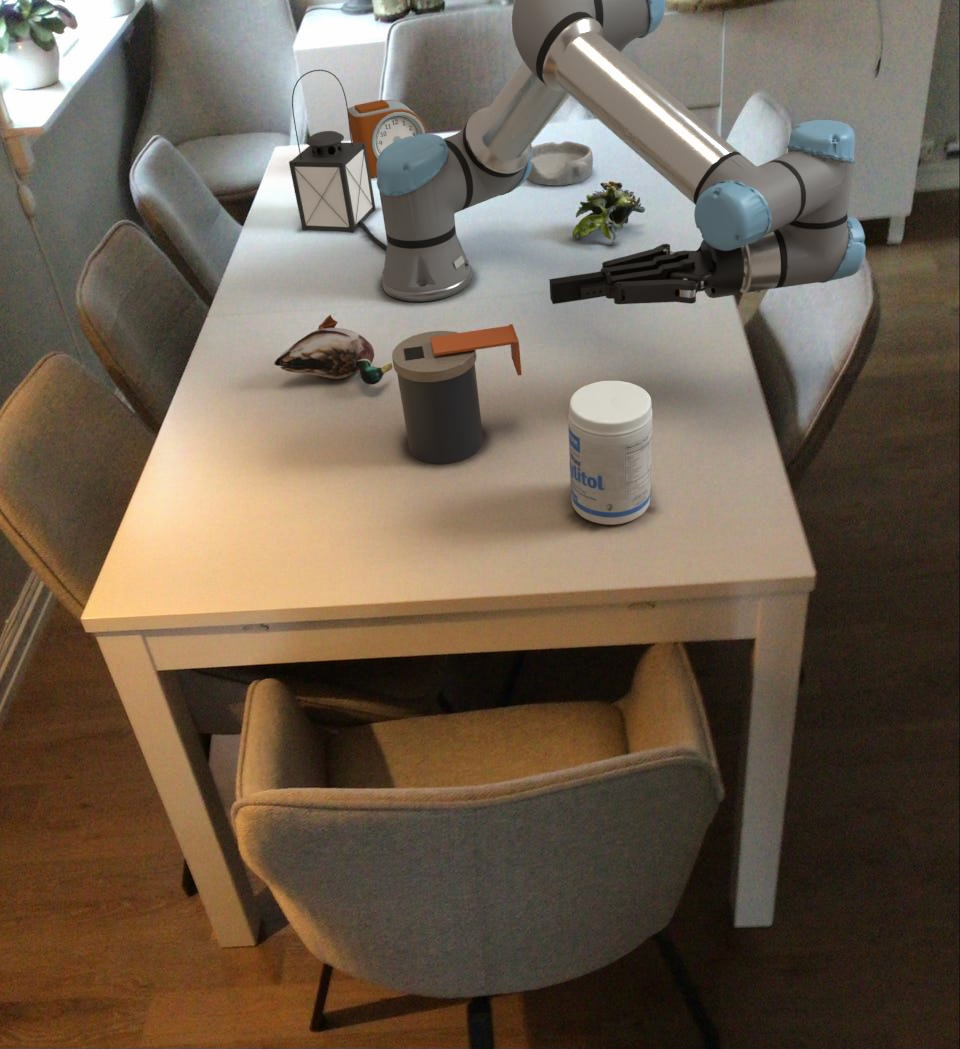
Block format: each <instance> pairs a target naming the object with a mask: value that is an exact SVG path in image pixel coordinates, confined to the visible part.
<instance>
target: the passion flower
mask: <svg viewBox="0 0 960 1049" xmlns="http://www.w3.org/2000/svg"><path fill="white" fill-rule="evenodd" d="M600 186H601V187H602V190H597V191H596V190H594V193H593V192H591V193H592V194H590V193H589V194H586V196H585V197H586V201H579V205H581V206H578V210H577V212H576V213H575V218H578V217H580V216H582V215H583V214H585V213H588V212H590V211H591V212H590V213H588V214H586V216H584V217H582V219H581V220H579V222H578V224H576V225H575V227H574V229H573V231H572V234H571V235H572V237H573V238H575V239H578V238H579V237H580V238H583V237H586V236H588V235H590V234H591V233H593V232H595V231H597V229H600V228H601V232H602V234H603V236H604V237H605V238H607V240H611V239H612V238H611V233H612V235H613V239H612V242H611V246H612V247H613V246H614V243H615V241H616V239H617V237H618V234H619V232H620V231H621V229H622V228H623V226H624V225H627V224H628V223H629V217H630V215H631V214H632V213H633V212H636V213H639V214H640V213H641V214H643V213H644V212H645V211H646V208H645V207H644V206H642V203H641V197H638V198H637V199H636V195H634V194H635V191H630V192H629V189H623V183H622V182H615V181H612V180H609V181H608V182H600ZM610 228H611V232H610Z"/></svg>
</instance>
